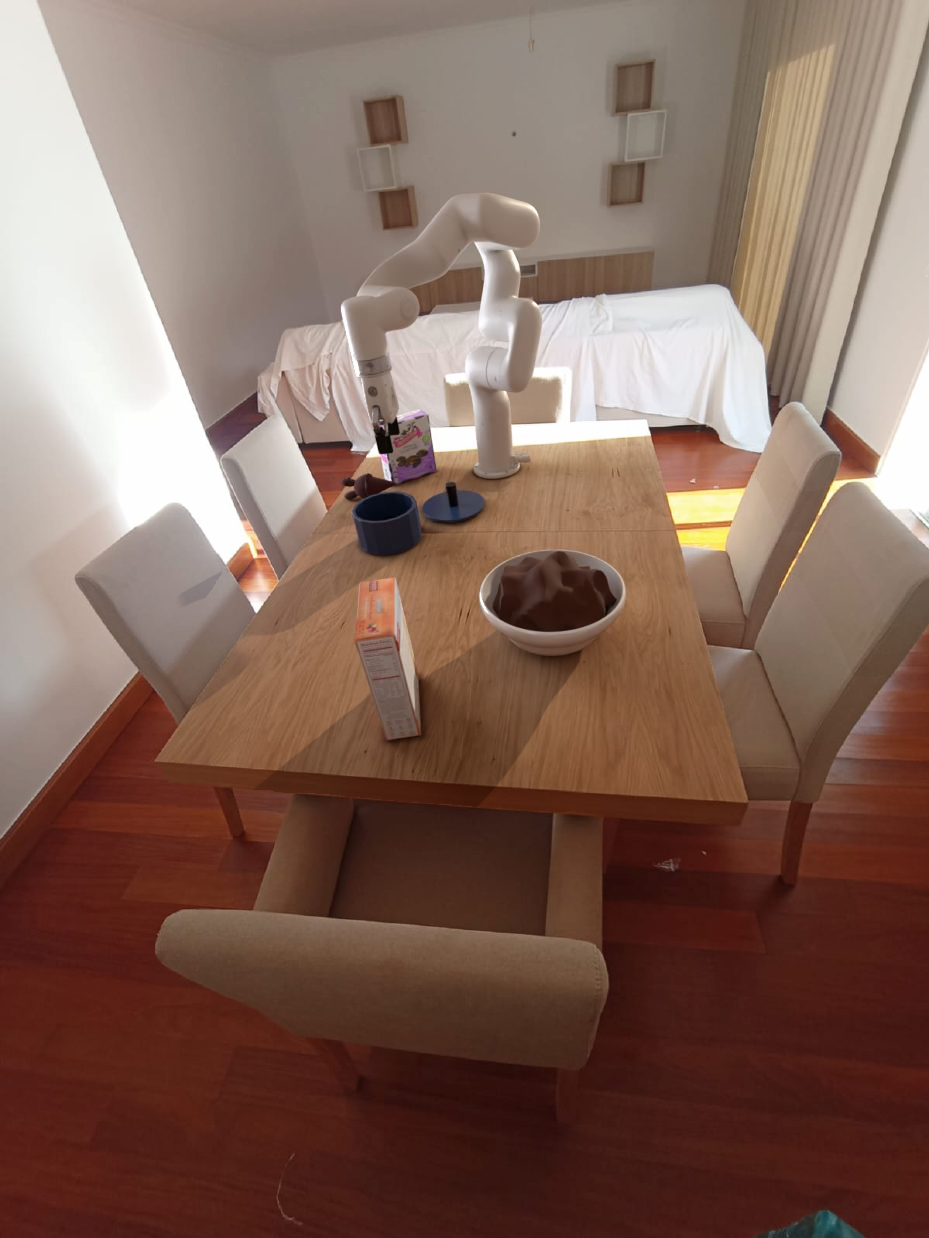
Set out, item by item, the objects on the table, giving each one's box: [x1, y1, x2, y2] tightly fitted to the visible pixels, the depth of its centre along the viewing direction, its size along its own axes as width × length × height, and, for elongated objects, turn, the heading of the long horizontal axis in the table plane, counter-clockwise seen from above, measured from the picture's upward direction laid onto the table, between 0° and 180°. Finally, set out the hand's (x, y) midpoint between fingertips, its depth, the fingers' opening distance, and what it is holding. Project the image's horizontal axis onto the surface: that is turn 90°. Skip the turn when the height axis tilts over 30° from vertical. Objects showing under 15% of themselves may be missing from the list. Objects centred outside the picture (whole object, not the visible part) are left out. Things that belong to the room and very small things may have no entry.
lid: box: [421, 481, 486, 523], centre depth 147 cm, size 16×16×7 cm
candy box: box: [379, 408, 437, 486], centre depth 162 cm, size 14×6×16 cm, turn 119°
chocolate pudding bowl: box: [478, 549, 627, 657], centre depth 104 cm, size 25×25×15 cm
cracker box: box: [354, 576, 422, 741], centre depth 91 cm, size 14×6×21 cm, turn 5°
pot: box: [351, 491, 423, 557], centre depth 138 cm, size 15×15×8 cm
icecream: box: [340, 472, 397, 501], centre depth 157 cm, size 7×7×15 cm
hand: (389, 443), depth 133 cm, fingers open, 9 cm apart
